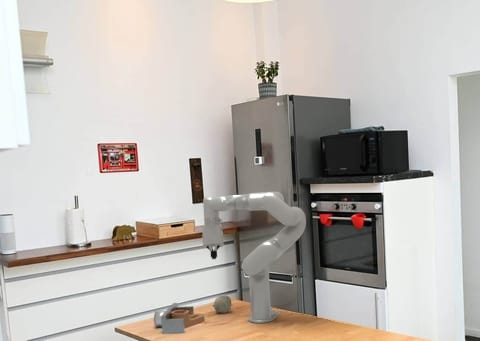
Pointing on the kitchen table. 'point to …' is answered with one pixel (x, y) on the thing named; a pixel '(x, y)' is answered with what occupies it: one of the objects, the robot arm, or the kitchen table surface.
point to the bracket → (188, 317)
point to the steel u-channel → (167, 322)
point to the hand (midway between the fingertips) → (214, 258)
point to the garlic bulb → (222, 304)
